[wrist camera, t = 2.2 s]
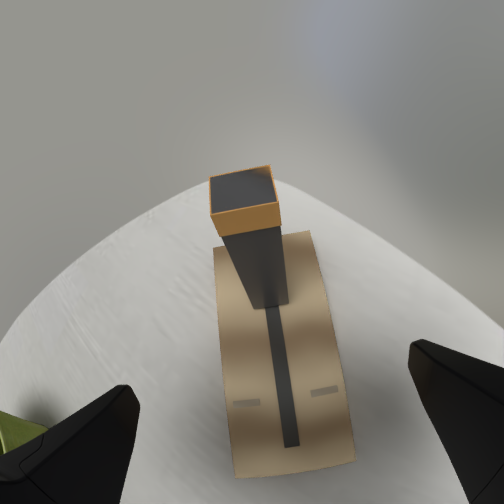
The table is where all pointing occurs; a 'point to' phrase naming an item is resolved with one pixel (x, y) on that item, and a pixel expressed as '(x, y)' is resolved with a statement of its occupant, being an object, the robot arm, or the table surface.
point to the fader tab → (251, 232)
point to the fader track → (282, 371)
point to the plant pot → (16, 432)
